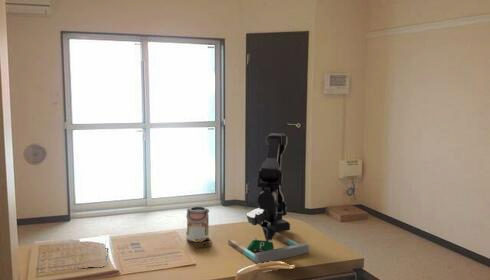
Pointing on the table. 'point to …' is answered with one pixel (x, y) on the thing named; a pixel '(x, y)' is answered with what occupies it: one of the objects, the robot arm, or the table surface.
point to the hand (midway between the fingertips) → (268, 242)
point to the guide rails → (240, 248)
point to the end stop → (281, 253)
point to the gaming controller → (260, 245)
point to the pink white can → (197, 223)
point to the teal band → (252, 255)
